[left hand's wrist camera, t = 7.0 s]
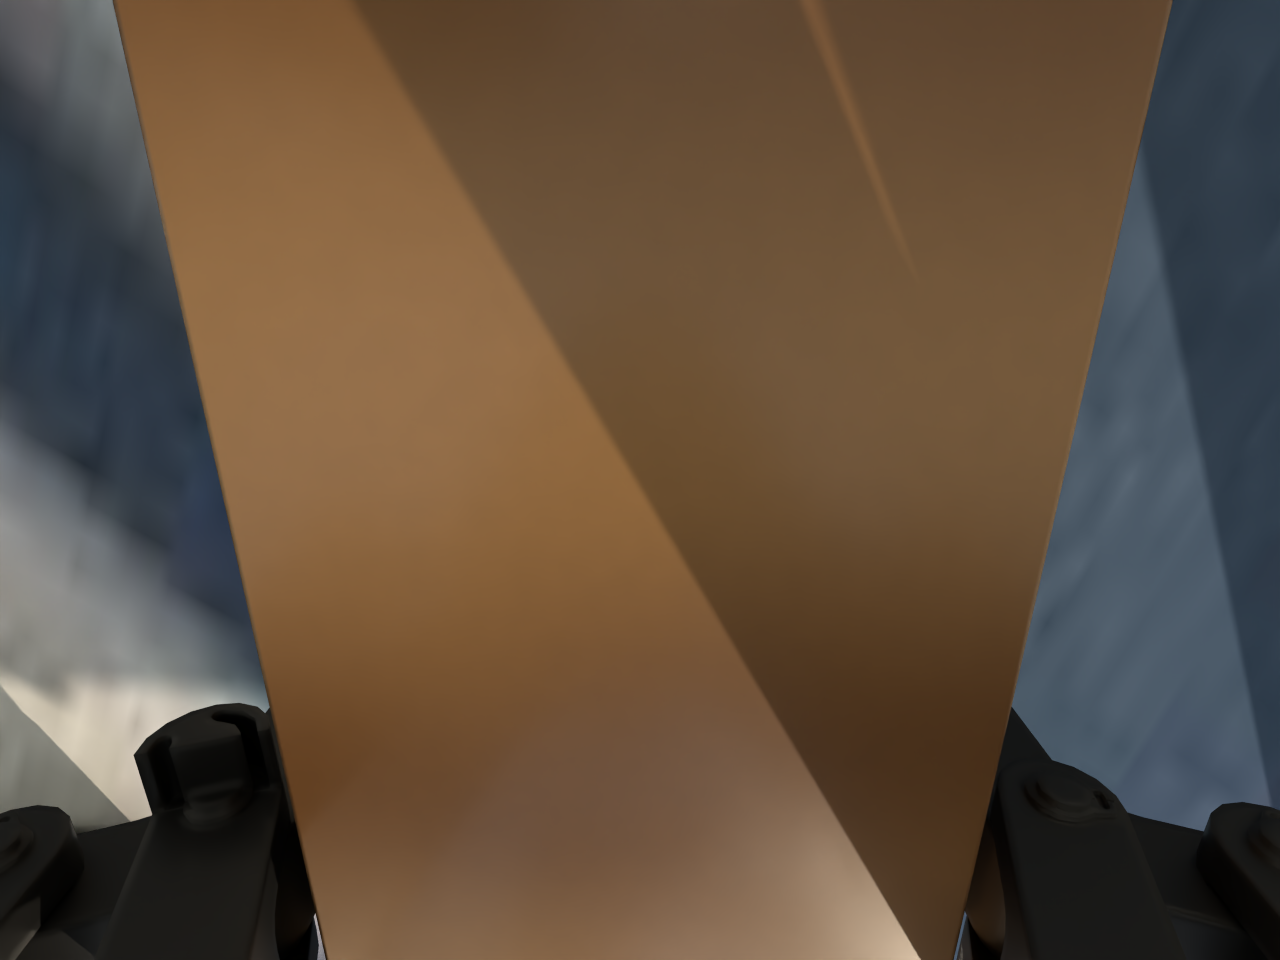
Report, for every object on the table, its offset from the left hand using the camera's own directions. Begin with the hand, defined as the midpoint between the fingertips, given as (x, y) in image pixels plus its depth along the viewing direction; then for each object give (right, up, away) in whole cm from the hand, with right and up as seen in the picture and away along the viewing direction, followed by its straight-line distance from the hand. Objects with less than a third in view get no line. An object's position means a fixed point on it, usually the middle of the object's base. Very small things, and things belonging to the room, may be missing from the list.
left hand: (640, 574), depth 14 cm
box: (0, +7, -2) cm, 8 cm away
